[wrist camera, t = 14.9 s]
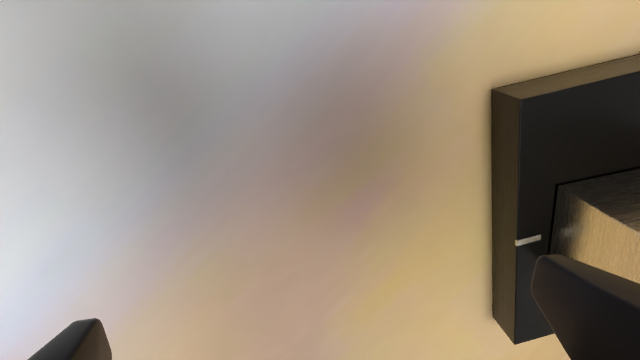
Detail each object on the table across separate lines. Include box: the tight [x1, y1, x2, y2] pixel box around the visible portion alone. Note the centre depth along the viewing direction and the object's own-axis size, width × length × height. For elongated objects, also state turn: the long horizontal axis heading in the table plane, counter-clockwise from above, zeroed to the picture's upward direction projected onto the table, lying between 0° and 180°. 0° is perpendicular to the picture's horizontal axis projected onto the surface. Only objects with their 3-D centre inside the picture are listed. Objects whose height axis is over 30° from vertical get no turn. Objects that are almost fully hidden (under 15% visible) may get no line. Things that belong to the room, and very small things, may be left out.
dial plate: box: [492, 54, 640, 344], centre depth 24 cm, size 16×14×3 cm
